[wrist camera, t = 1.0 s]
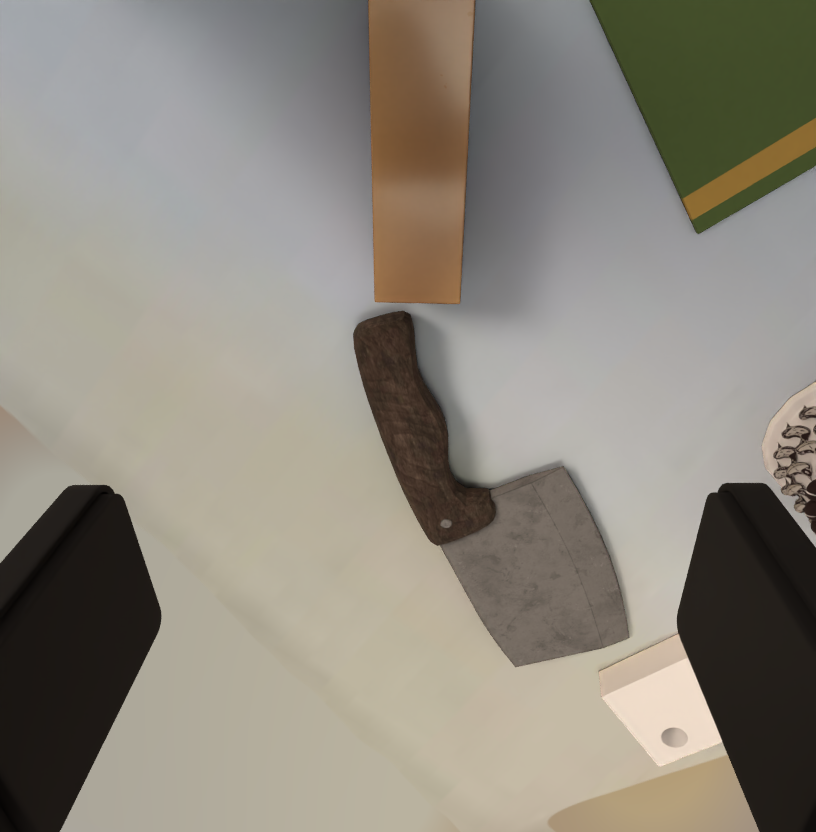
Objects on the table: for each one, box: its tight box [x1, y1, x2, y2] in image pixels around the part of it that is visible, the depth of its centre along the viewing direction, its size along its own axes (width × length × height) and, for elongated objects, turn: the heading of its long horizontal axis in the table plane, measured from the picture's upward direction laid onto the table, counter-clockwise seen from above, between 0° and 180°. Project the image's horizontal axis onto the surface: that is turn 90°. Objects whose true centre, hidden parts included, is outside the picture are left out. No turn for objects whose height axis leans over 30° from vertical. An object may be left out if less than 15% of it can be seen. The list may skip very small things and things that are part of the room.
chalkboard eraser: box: [368, 0, 476, 304], centre depth 27 cm, size 4×13×4 cm, turn 0°
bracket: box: [599, 634, 722, 767], centre depth 42 cm, size 13×7×8 cm, turn 132°
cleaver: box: [353, 311, 629, 667], centre depth 38 cm, size 30×10×2 cm, turn 26°
